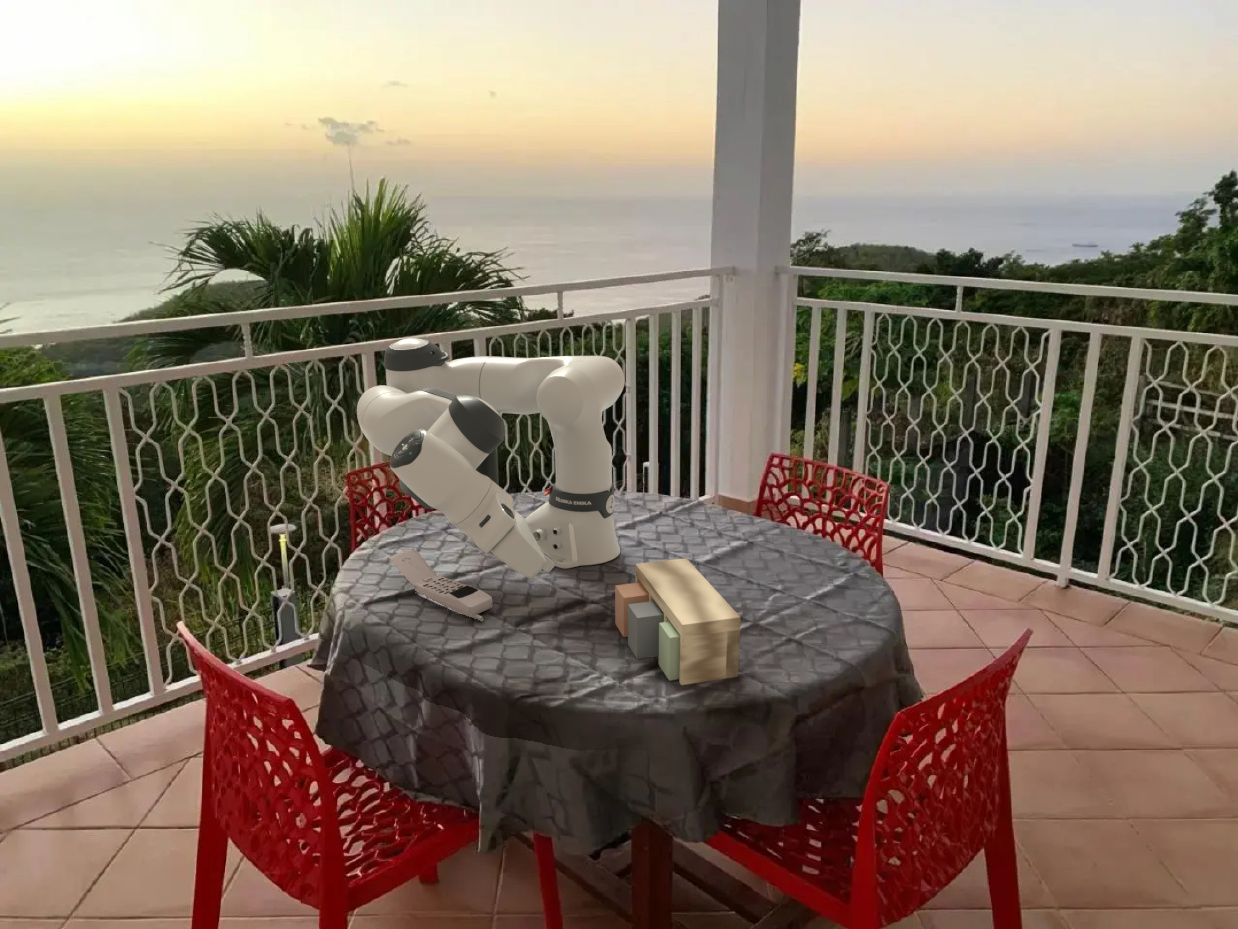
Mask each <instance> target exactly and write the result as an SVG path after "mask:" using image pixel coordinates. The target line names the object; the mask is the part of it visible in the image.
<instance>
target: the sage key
mask: <svg viewBox="0 0 1238 929" xmlns="http://www.w3.org/2000/svg"><path fill="white" fill-rule="evenodd" d="M658 665H659V667H660V669H661V670H662V672H663V674H664V675H665V677H666V678H667V679H668V681H675V680H676V681H677V680H679V679H680V634H679V632H678V631H677V630H676V628H675V627H674V626H673V624H672V623H671V622H662V623H659V656H658Z"/></svg>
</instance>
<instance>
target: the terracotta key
mask: <svg viewBox="0 0 1238 929" xmlns="http://www.w3.org/2000/svg"><path fill="white" fill-rule="evenodd" d="M614 590H615V591H614V595H615V597H614V598H615V600H614V605H615V606H614V607H615V608H614V611H615V613H614V614H615V616H614V618H615V619H614V623H615V626H616V628H618V630H619V632H620V634H621V635H622V637H623V638H626V637H627V638H628V604H634V603H642V602H649V592H648V591H647V590H646V588H645V587H644V586H643V584H642V583H641V582H639V583H635V582H633V583H622V584H617V585H616V584H615V585H614Z"/></svg>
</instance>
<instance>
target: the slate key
mask: <svg viewBox="0 0 1238 929" xmlns="http://www.w3.org/2000/svg"><path fill="white" fill-rule="evenodd" d="M662 622H664V612H663V611H662V610H661V608H660V607H659V606H658V604H657V603H656V602H655V601H650V602H642V603H634V604H628V637H627V645H628V647H629V648H630V650H631V652H632V654H633V655H634V656H635V658H636V659H637V660H640V659H648V658H652V657H653V658H654V657H659V623H662Z"/></svg>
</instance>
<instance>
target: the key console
mask: <svg viewBox="0 0 1238 929" xmlns="http://www.w3.org/2000/svg"><path fill="white" fill-rule="evenodd" d="M634 580H635V582H634V583H639V582H641V583H642V584H643V586H644V587H645V588H646V590H647V591H648V592H649V602H650V601H655V602H656V603H657V604H658V606H659V607H660V608H661V610H662V611H663V612H664V622H671V623H672V624H673V626H674V627H675V628H676V630H677V631H678V632H679V634H680V679H678V680H679V683H678V684H680V685H681V686H684V685H691V684H698V683H699V684H700V683H703V682H704V683H705V682H711V681H719V680H725V679H731V678H737V677H739V666H740V664H739V662H740V644H741V642H740V639H741V616H740V614H738V613H737V612H736V611H735V609H734V608H733V607H732V606H731V605H730V604H729V603H728V602H727V601H726V600H725V598H724V597H723V596H722V595H721V594H720V593H719V592H718V591H717V590H716V589H715V587H713V586H712V584H711V583H709V581H708V580H707V579H706V578H705V577H704V576H703V575H702V573H700V571H699V570H698V569H697V568H696V567H695V565H693V563H692V562H691V561H689V560H688V558H687V557H683V558H676V559H667V560H666V559H665V560H659V561H650V562H641V563H635V579H634Z"/></svg>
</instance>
